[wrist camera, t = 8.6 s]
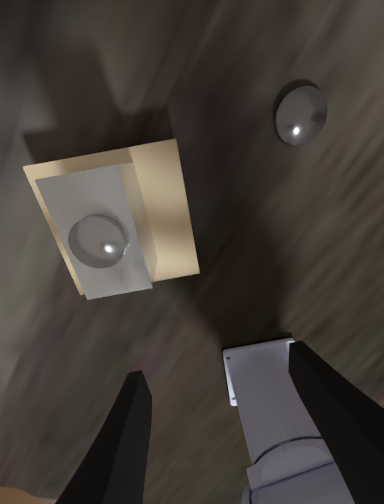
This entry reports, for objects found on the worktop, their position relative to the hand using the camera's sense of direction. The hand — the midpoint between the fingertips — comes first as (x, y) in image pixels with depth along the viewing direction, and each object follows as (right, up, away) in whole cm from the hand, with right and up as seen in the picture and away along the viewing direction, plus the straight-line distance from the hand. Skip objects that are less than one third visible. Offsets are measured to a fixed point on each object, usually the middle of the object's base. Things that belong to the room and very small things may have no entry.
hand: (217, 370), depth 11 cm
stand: (-6, +8, +7) cm, 13 cm away
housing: (-6, +8, +5) cm, 12 cm away
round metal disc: (+6, +16, +5) cm, 18 cm away
